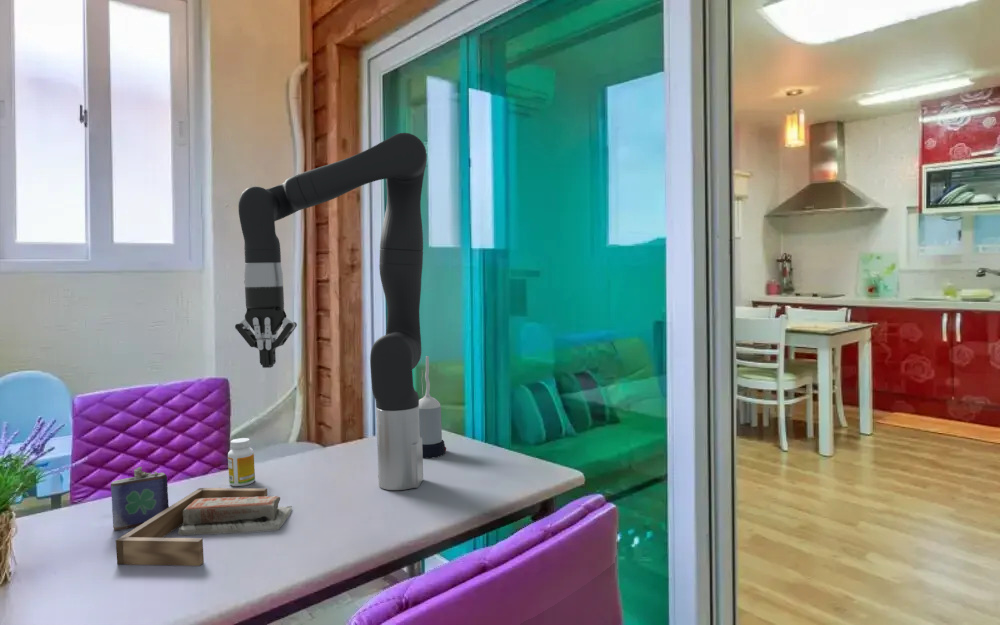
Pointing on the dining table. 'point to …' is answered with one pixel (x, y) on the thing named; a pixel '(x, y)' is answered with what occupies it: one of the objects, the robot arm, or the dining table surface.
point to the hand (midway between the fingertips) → (267, 367)
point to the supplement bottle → (241, 463)
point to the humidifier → (430, 422)
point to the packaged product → (233, 515)
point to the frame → (148, 537)
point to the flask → (138, 498)
